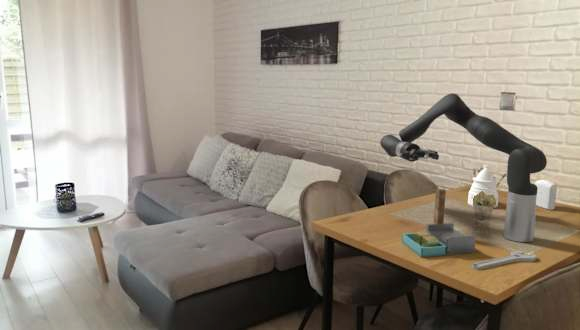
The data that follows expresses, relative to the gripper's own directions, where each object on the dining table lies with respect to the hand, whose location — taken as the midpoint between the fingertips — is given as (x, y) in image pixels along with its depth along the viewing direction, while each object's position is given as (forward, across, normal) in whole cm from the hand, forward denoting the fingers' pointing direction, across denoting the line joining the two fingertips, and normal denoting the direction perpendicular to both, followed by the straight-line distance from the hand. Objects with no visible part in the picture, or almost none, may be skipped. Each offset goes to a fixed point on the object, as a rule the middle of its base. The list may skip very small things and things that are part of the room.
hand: (427, 157), depth 172 cm
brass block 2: (+26, -10, +25) cm, 37 cm away
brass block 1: (+21, -10, +25) cm, 34 cm away
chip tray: (+23, -13, +27) cm, 38 cm away
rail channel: (+23, -3, +27) cm, 36 cm away
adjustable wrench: (+38, +6, +28) cm, 48 cm away
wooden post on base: (+10, 0, +27) cm, 29 cm away
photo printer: (-12, +67, +27) cm, 73 cm away
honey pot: (-22, +42, +27) cm, 55 cm away
